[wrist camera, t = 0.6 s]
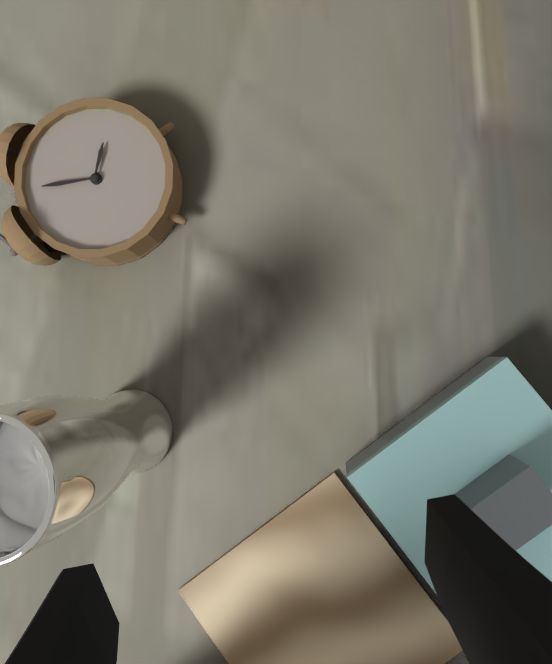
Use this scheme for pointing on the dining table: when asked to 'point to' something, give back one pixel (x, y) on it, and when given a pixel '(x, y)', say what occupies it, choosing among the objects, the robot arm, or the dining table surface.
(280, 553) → the cork pad
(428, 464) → the lid
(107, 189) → the alarm clock
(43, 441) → the beer glass
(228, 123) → the dining table surface
